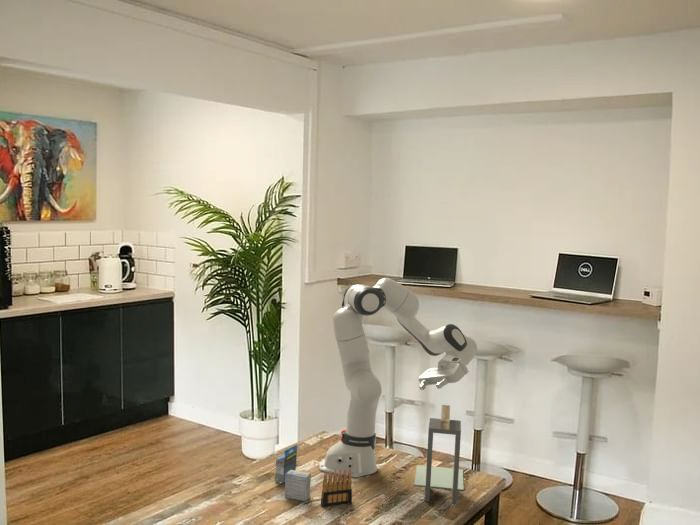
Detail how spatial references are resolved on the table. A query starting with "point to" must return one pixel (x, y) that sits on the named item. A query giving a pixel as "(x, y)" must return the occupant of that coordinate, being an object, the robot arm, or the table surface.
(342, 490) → the ammunition clip
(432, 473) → the mat
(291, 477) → the medicine box
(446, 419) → the beech bar
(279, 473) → the label tape box
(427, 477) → the stand
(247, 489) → the table surface
